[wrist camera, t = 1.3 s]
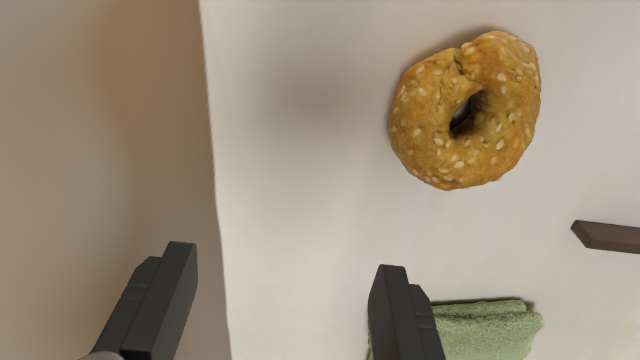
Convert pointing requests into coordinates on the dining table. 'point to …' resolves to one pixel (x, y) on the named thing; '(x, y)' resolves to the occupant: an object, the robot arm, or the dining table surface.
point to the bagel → (481, 125)
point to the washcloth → (485, 330)
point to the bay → (608, 237)
